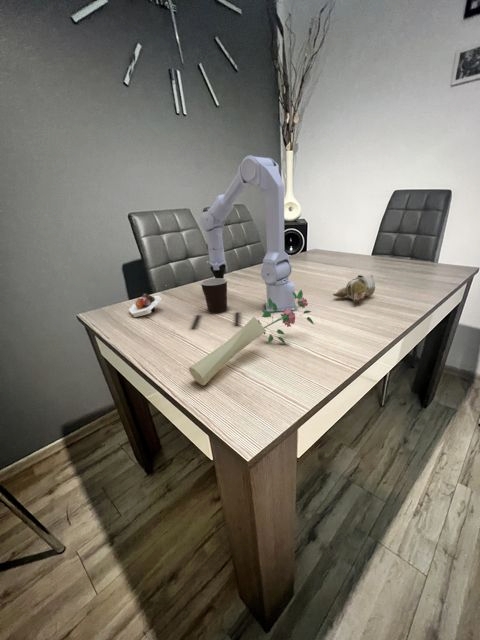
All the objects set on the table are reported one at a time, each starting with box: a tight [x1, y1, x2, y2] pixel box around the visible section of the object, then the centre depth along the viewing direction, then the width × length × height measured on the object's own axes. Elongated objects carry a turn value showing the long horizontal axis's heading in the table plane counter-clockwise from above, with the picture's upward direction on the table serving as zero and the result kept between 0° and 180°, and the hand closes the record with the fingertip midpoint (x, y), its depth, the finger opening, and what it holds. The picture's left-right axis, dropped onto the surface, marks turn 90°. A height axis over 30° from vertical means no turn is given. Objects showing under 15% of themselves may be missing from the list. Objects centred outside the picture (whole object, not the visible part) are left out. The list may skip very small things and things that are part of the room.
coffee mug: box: [200, 277, 228, 314], centre depth 94 cm, size 12×9×10 cm
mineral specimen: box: [128, 292, 163, 318], centre depth 95 cm, size 12×12×7 cm
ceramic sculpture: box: [332, 274, 376, 303], centre depth 96 cm, size 11×9×15 cm
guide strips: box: [191, 312, 240, 330], centre depth 87 cm, size 14×10×1 cm
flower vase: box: [188, 289, 315, 386], centre depth 66 cm, size 12×12×35 cm
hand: (220, 284), depth 107 cm, fingers closed
